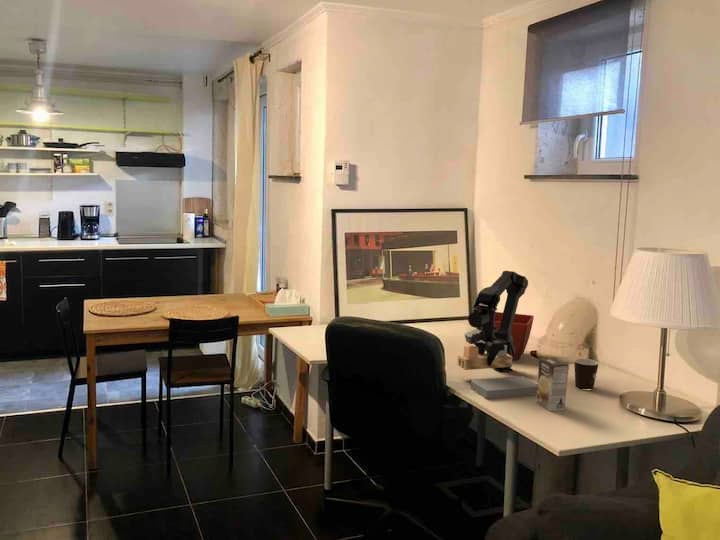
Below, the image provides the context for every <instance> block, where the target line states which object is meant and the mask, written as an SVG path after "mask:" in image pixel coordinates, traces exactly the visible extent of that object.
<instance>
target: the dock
mask: <svg viewBox="0 0 720 540" xmlns="http://www.w3.org/2000/svg"><path fill="white" fill-rule="evenodd" d="M537 385H538V383H536V382H534V381H533V380H531V379H529V378H528V377H526V376H523V375H522V376H512V377H501V378H500V377H499V378H496V377H495V378H486V379H473V380H470V389H471V390H472V389H473V390H472V391H473V392H475V391H476V392H475V393H477V394H478V395H480V396H481V397H483V398H484V399H486V400H491V399H502V398H513V397H524V396H534V395H535V396H537Z"/></svg>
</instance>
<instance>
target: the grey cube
mask: <svg viewBox="0 0 720 540" xmlns="http://www.w3.org/2000/svg"><path fill="white" fill-rule="evenodd" d="M496 356H497V357H499V356H507V346H506V345H505V350H502V351H499V353H498V354H497V355H496Z"/></svg>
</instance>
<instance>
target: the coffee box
mask: <svg viewBox="0 0 720 540" xmlns="http://www.w3.org/2000/svg"><path fill="white" fill-rule="evenodd" d="M569 367H570V365H569V364H568V363H567V362H565V361H562V360H561V359H559V358H557V357H556V356H553V357H540V358H539V361H538V374H537V384H538V385H537V395H536V397H535V399H536V401H535V402H536V403H537V404H538V405H539V406H540V407H542V408H544V409H545V410H546V411H548V412H557V411H565V410H566V404H567V403H566V401H567V391H568V389H567V388H568V379H569V378H568V377H569Z"/></svg>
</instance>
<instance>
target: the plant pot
mask: <svg viewBox="0 0 720 540" xmlns="http://www.w3.org/2000/svg"><path fill="white" fill-rule="evenodd" d="M502 315H503V311H502V312H499V311H495V326H496V327H497V330H498V329H499V327H500V323H501V319H502ZM533 323H534V315H531V314H522V313H521V314H520V313H515V317H514V321H513V325H512V329H511V334H512V337H513V345H514V347H515V349H516V352H515V355H514V357H512V360H515V361H516V360H517V361H518V360H520V359H521V357H522V356H523V355H524V354H525V351H526V348H527V345H528V343H529V340H530V339H529V338H530V335H531V332H532V327H533ZM497 330H494V331H497Z"/></svg>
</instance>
